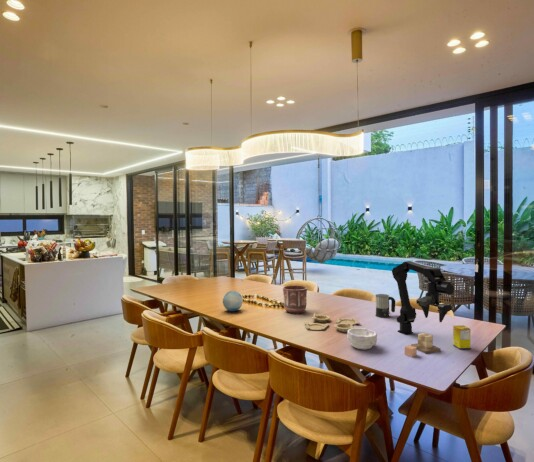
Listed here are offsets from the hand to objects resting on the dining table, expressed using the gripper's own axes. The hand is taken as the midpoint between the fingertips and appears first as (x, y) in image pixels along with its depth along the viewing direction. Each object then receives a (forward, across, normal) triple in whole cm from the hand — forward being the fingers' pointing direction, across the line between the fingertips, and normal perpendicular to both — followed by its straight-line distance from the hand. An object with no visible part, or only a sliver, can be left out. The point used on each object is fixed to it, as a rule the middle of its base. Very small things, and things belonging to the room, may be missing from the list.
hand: (433, 319), depth 185 cm
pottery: (+13, -89, -39) cm, 98 cm away
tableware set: (+14, -50, -32) cm, 61 cm away
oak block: (+12, +4, -10) cm, 16 cm away
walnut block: (+14, +4, -10) cm, 17 cm away
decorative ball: (+13, -109, -81) cm, 136 cm away
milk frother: (+13, -57, +14) cm, 60 cm away
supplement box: (+13, +10, +9) cm, 19 cm away
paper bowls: (+13, -12, -38) cm, 42 cm away
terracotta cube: (+13, +7, -23) cm, 27 cm away
